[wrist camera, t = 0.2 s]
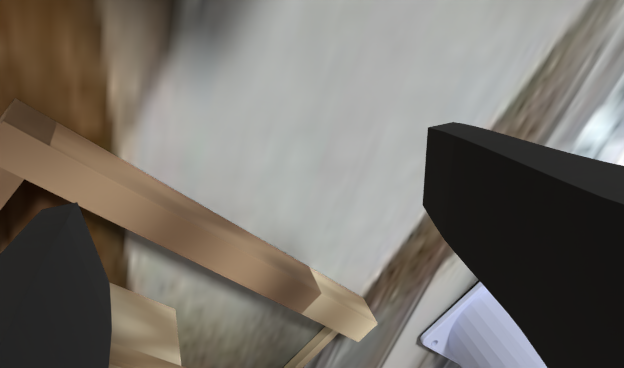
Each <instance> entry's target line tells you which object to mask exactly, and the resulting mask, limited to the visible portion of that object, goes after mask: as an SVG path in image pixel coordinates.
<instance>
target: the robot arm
mask: <svg viewBox="0 0 624 368" xmlns="http://www.w3.org/2000/svg"><path fill="white" fill-rule="evenodd" d="M423 206H424V208H425V210H426V211H427V213H428V214H429V216H430V218H431V219H432V221H433V223H434V224H435V226H436V227H437V229H438V231H439V232H440V234H441V235H442V237H443V238H444V240H445V241H446V242H447V243H448V244H449V246H450V247H451V248H452V249H453V250H454V252H455V253H456V254H457V255H458V256H459V258H460V259H461V260H462V261H463V262H464V263H465V265H466V266H467V267H468V268H469V269H470V270H471V271H472V273H473V274H474V275H475V276H476V277H477V278H478V280H479V281H480V282H479V283H478V284H477V285H476V286H475V287H473V288H472V289H471V290H470V291H469V292H468V293H467V294H466V295H465V296H464V297H463V298H462V299H460V300H459V301H458V302H457V303H456V304H455V305H454V306H453V307H452V308H451V309H450V310H449V311H447V312H446V313H445V314H444V315H443V316H442V317H441V318H440V319H439V320H438V321H437V322H436V323H434V324H433V325H432V326H431V327H430V328H429V329H428V330H427V331H426V332H425V333H424V334H423V335H422V336H421V338H420V340H421V342H422V344H423V345H424V346H426V347H428V348H430V349H432V350H433V351H435V352H437V353H439V354H441V355H442V356H444V357H446V358H448V359H450V360H452V361H453V362H455V363H457V364H459V365H460V366H461V367H462V368H624V166H621V165H616V164H612V163H607V162H603V161H599V160H595V159H591V158H587V157H583V156H579V155H575V154H571V153H567V152H564V151H560V150H556V149H553V148H549V147H546V146H542V145H539V144H535V143H532V142H528V141H525V140H521V139H518V138H515V137H511V136H508V135H504V134H501V133H497V132H494V131H490V130H487V129H483V128H479V127H475V126H471V125H466V124H461V123H455V122H452V123H447V124H442V125H438V126H433V127H428V136H427V150H426V165H425V179H424V194H423ZM111 335H112V317H111V297H110V283H109V280H108V278H107V275H106V273H105V270H104V268H103V265H102V263H101V260H100V258H99V255H98V253H97V250H96V248H95V245H94V243H93V240H92V238H91V235H90V233H89V230H88V228H87V225H86V222H85V220H84V217H83V215H82V212H81V210H80V207H79V205H78V202H75V203H71V204H66V205H61V206H57V207H52V208H47V209H42V210H41V211H40V212H39V213H38V214H37V215H36V216H35V217H34V218H33V219H32V220H31V221H30V222H29V223H28V224H27V225H26V226H25V228H24V229H23V230H22V231H21V232H20V233H19V234H18V235H17V236H16V237H15V239H14V240H13V241H12V242H11V243H10V244H9V245H8V246H7V247H6V249H5V250H4V251H3V252H2V253H1V254H0V368H109V359H110V347H111Z"/></svg>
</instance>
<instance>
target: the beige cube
mask: <svg viewBox="0 0 624 368" xmlns="http://www.w3.org/2000/svg"><path fill="white" fill-rule="evenodd" d="M109 283H110V282H109ZM110 297H111V317H112V335H111V347H110V359H109V368H186V367H183V366H181V358H180V349H179V340H178V330H177V321H176V312H175V309H173V308H171V307H168V306H166V305H163V304H161V303H158V302H156V301H154V300H151V299H149V298H146V297H144V296H141V295H139V294H136V293H134V292H132V291H129V290H127V289H124V288H122V287H119V286H117V285H115V284H112V283H110Z"/></svg>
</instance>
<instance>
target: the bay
mask: <svg viewBox="0 0 624 368" xmlns="http://www.w3.org/2000/svg"><path fill="white" fill-rule="evenodd" d="M24 179H25V180H27V181H29V182H31V183H34V184H36V185H38V186H40V187H42V188H44V189H46V190H48V191H50V192H52V193H54V194H56V195H58V196H60V197H62V198H64V199H66V200H68V201H70V202H72V203H75V202H78V205H79V206H81V207H83V208H85V209H87V210H89V211H91V212H93V213H95V214H97V215H99V216H101V217H103V218H105V219H107V220H109V221H111V222H113V223H115V224H118V225H120V226H122V227H124V228H126V229H128V230H130V231H132V232H134V233H136V234H138V235H140V236H142V237H144V238H146V239H148V240H150V241H152V242H154V243H156V244H158V245H161V246H163V247H165V248H167V249H169V250H171V251H173V252H175V253H177V254H179V255H181V256H183V257H185V258H187V259H189V260H191V261H193V262H195V263H197V264H199V265H201V266H204V267H206V268H208V269H210V270H212V271H214V272H216V273H218V274H220V275H222V276H224V277H226V278H228V279H230V280H232V281H234V282H236V283H238V284H240V285H242V286H244V287H247V288H249V289H251V290H253V291H255V292H257V293H259V294H261V295H263V296H265V297H267V298H269V299H271V300H273V301H275V302H277V303H279V304H281V305H283V306H285V307H288V308H290V309H292V310H294V311H296V312H298V313H300V314H302V315H304V316H306V317H308V318H310V319H312V320H314V321H316V322H318V323H320V324H322V325H324V326H325V327H324V328H323V329H322V330H321V331H320V332H319V333H318V334H317V335H316V336H315V337H314V338H313V339H312V340H311V341H310V342H309V343H308V344H307V345H306V346H305V347H304V348H303V349H302V350H301V351H300V352H299V353H298V354H297V355H296V356H294V357H293V358H292V359H291V360H290V361H289V362H288V363H287V364H286V365H285V366H284V367H283V368H303V367H304V366H305V365H306V364H307V363H308V362H309V361H310V360H311V359H312V358H313V357H314V356H315V355H316V354H317V353H318V352H320V351H321V350H322V349H323V348H324V347H325V346H326V345H327V344H328V343H329V342H330V341H331V340H332V339H333V338H334V337H335V336H336V335H337V334H338V333H341V334H343V335H345V336H347V337H349V338H351V339H353V340H355V341H357V342H359V341H360V340H361V339H362V338H363V337H364V336H365V335H366V334H367V333H368V332H369V331H371V330H372V329H373V328H374V327H375V326H376V325H377V324H378V323H377V322H376V320H375V318H374V316H373V315H372V313H371V311H370V309H369V308H368V306H367V304H366V302H365V301H364V299H363V298H362V297H361V296H359V295H357V294H355V293H354V292H352V291H350V290H348V289H347V288H345V287H343V286H341V285H340V284H338V283H336V282H334V281H333V280H331V279H329V278H327V277H326V276H324V275H322V274H320V273H319V272H317V271H315V270H314V269H312V268H310V267H308V266H307V265H305V264H303V263H301V262H300V261H298V260H296V259H294V258H293V257H291V256H289V255H287V254H286V253H284V252H282V251H280V250H279V249H277V248H275V247H273V246H272V245H270V244H268V243H266V242H265V241H263V240H261V239H260V238H258V237H256V236H254V235H253V234H251V233H249V232H247V231H246V230H244V229H242V228H240V227H239V226H237V225H235V224H233V223H232V222H230V221H228V220H226V219H225V218H223V217H221V216H219V215H218V214H216V213H214V212H212V211H211V210H209V209H207V208H206V207H204V206H202V205H200V204H199V203H197V202H195V201H193V200H192V199H190V198H188V197H186V196H185V195H183V194H181V193H179V192H178V191H176V190H174V189H172V188H171V187H169V186H167V185H165V184H164V183H162V182H160V181H158V180H157V179H155V178H153V177H152V176H150V175H148V174H146V173H145V172H143V171H141V170H139V169H138V168H136V167H134V166H132V165H131V164H129V163H127V162H125V161H124V160H122V159H120V158H118V157H117V156H115V155H113V154H111V153H110V152H108V151H106V150H105V149H103V148H101V147H99V146H98V145H96V144H94V143H92V142H91V141H89V140H87V139H85V138H84V137H82V136H80V135H78V134H77V133H75V132H73V131H71V130H70V129H68V128H66V127H64V126H63V125H61V124H59V123H57V122H56V121H54V120H52V119H51V118H49V117H47V116H45V115H44V114H42V113H40V112H38V111H37V110H35V109H33V108H31V107H30V106H28V105H26V104H24V103H23V102H21V101H19V100H17V99H16V98H15V99H14V100H13V101H12V103H11V104H10V106H9V107H8V108H7V110H6V111H5V112H4V114H3V115H2V116H1V118H0V210H1V209H2V207H3V206H4V205H5V203H6V202H7V201H8V200H9V198H10V197H11V196H12V194H13V193H14V192H15V191H16V189H17V188H18V187H19V185H20V184H21V183H22V181H23V180H24Z"/></svg>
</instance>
